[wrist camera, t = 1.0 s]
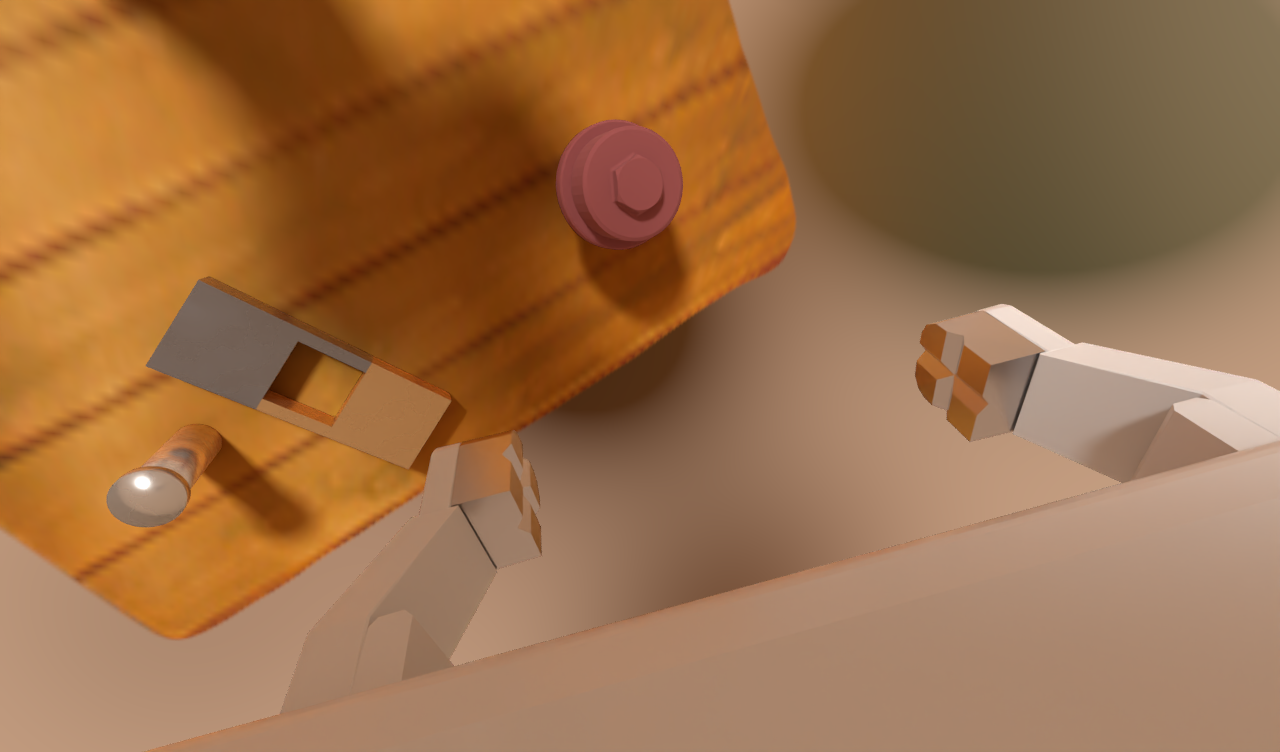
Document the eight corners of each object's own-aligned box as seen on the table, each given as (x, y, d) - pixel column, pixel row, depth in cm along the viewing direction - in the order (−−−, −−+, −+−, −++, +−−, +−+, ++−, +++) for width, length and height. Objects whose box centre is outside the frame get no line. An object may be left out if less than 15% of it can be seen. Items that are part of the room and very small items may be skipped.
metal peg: (155, 453, 42) (93, 515, 33) (182, 411, 42) (126, 462, 33) (212, 472, 44) (167, 534, 35) (237, 431, 44) (198, 484, 35)
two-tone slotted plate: (158, 358, 40) (145, 366, 38) (209, 276, 40) (198, 279, 38) (408, 458, 50) (408, 469, 48) (449, 392, 50) (451, 400, 48)
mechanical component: (652, 167, 52) (612, 261, 53) (562, 111, 47) (519, 215, 48) (719, 155, 41) (666, 274, 42) (610, 80, 36) (554, 216, 37)
